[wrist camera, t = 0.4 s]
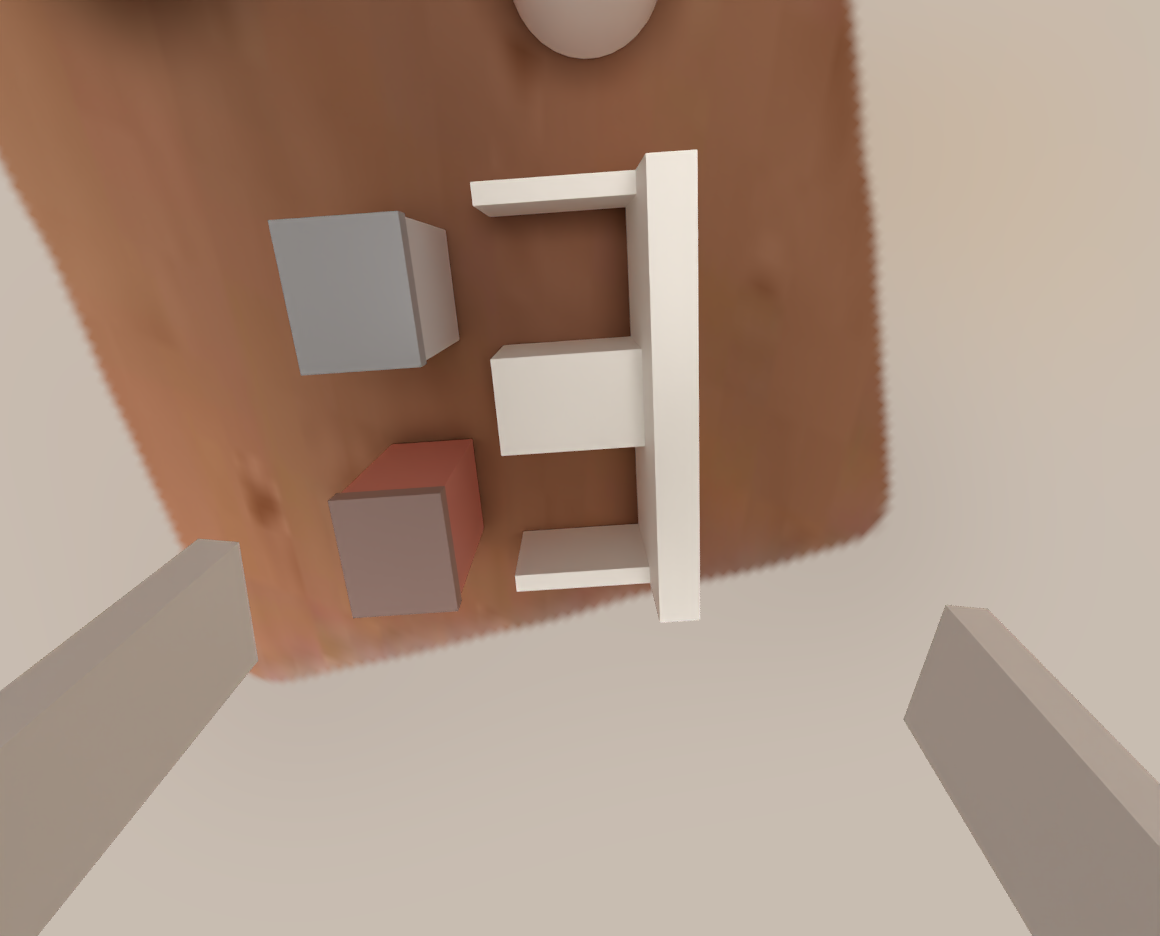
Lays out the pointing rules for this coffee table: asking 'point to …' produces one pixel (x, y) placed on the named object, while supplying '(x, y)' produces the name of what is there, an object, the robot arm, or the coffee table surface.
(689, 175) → the rack
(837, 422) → the coffee table surface
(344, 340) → the grey capped white pillar
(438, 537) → the capped red pillar
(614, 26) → the pill bottle
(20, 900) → the robot arm
